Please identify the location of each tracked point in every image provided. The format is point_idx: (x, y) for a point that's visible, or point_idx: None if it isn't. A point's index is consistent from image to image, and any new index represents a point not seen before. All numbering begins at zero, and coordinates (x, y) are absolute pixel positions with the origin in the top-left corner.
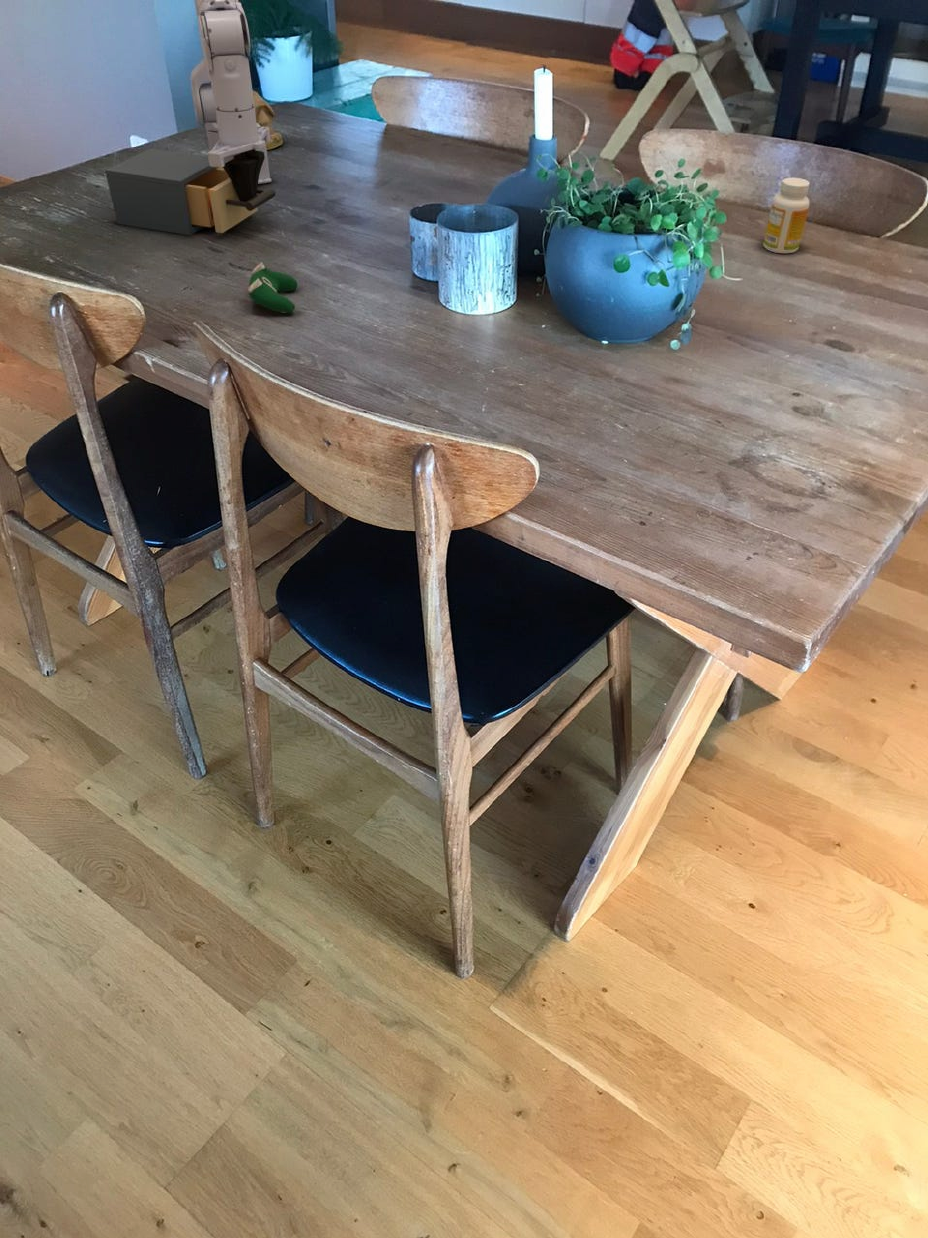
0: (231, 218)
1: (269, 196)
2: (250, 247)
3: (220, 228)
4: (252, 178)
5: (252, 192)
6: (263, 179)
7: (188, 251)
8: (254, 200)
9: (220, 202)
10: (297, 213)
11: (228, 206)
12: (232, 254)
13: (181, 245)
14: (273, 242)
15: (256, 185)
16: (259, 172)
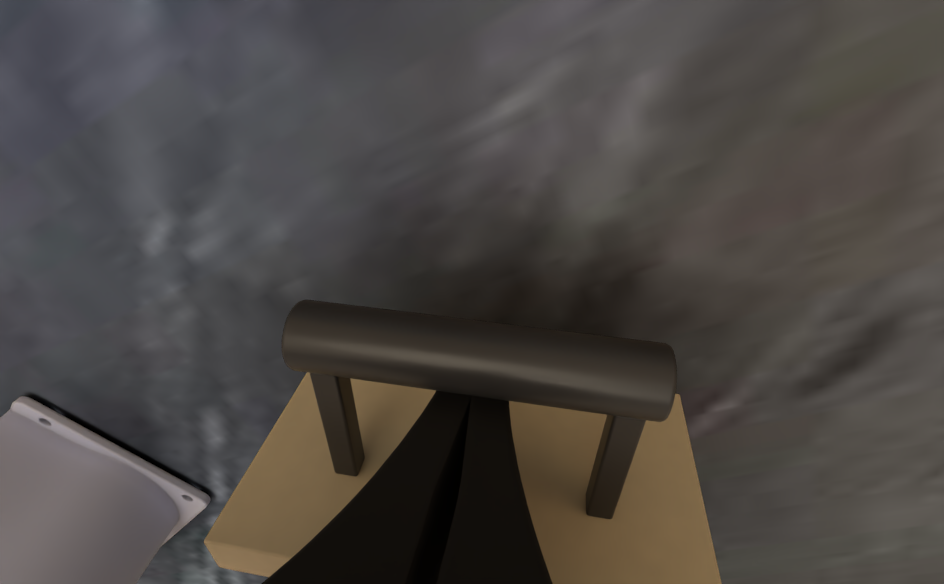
0: (574, 411)
1: (391, 318)
2: (795, 208)
3: (684, 417)
4: (480, 539)
5: (497, 436)
6: (42, 422)
7: (860, 448)
8: (607, 380)
9: (675, 534)
10: (185, 168)
11: (587, 473)
12: (931, 263)
13: (777, 482)
14: (682, 100)
15: (419, 454)
16: (334, 531)
